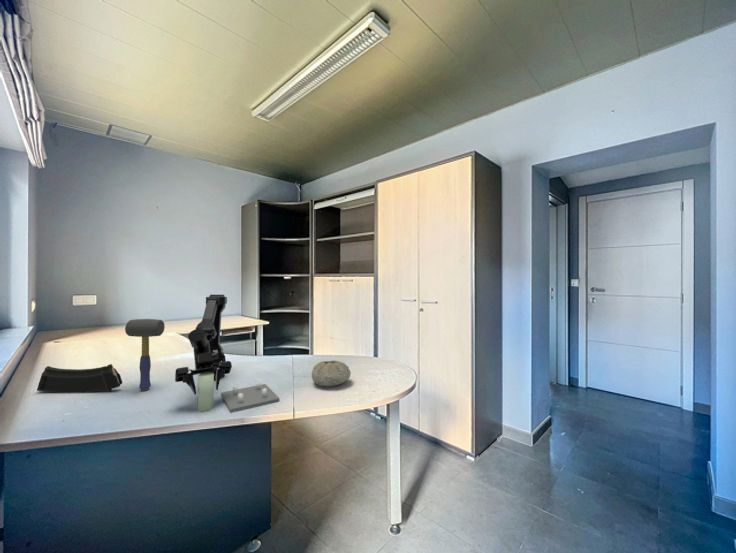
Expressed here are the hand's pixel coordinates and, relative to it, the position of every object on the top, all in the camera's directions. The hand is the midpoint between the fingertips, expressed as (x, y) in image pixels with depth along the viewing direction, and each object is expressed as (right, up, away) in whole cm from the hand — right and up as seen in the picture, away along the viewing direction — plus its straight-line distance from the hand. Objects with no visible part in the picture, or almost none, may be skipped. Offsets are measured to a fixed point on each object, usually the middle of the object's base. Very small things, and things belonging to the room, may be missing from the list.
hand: (206, 391), depth 113 cm
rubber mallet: (-35, -6, +17) cm, 39 cm away
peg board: (+12, -7, +11) cm, 17 cm away
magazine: (-59, -5, +14) cm, 61 cm away
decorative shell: (+42, -7, +29) cm, 52 cm away
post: (-1, -7, +1) cm, 7 cm away
